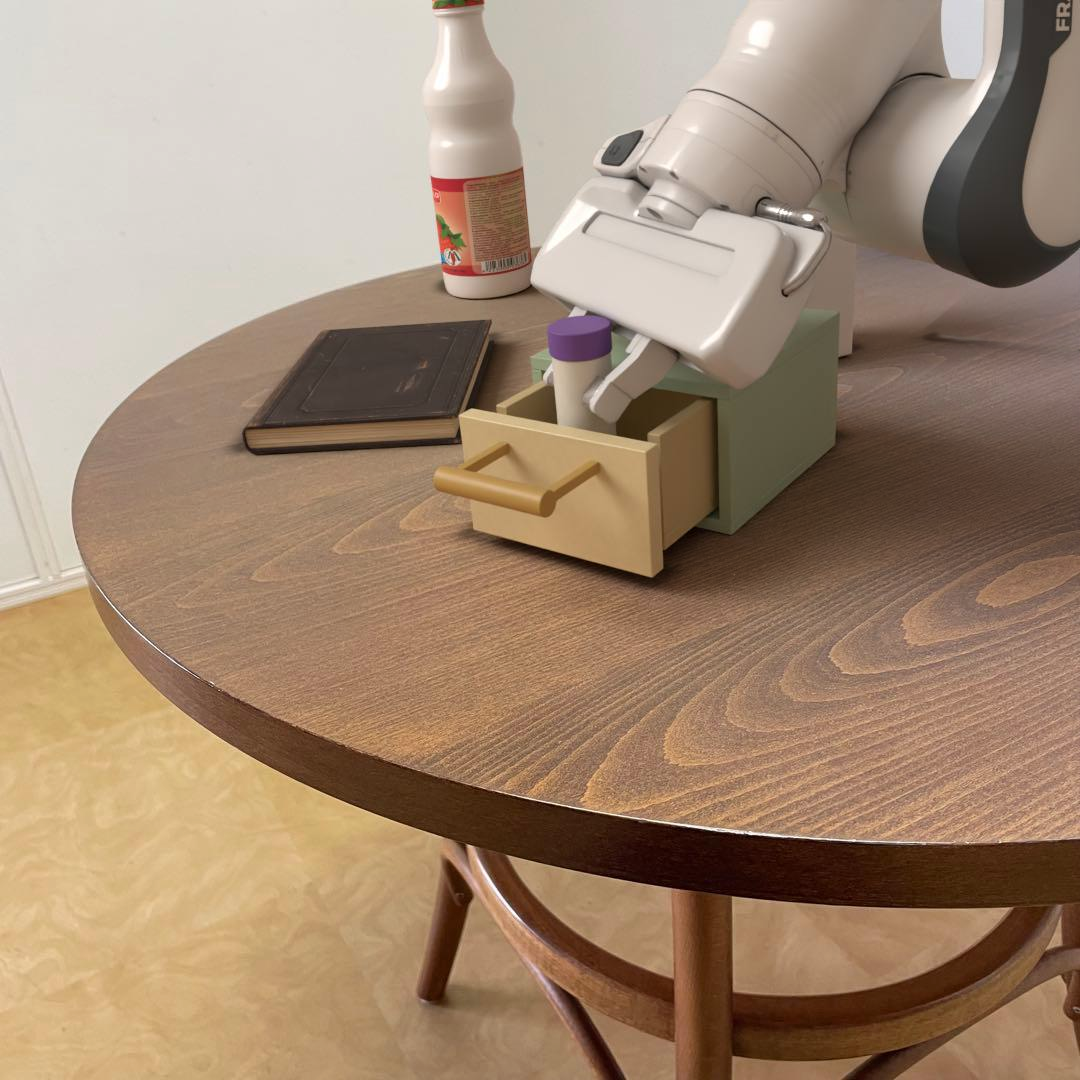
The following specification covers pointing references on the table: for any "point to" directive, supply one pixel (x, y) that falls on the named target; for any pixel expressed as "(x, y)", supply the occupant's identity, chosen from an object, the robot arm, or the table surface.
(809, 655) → the table surface
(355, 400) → the hardcover book
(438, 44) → the fruit juice
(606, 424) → the glue stick
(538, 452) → the drawer
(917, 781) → the table surface
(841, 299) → the milk carton
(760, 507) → the cabinet
